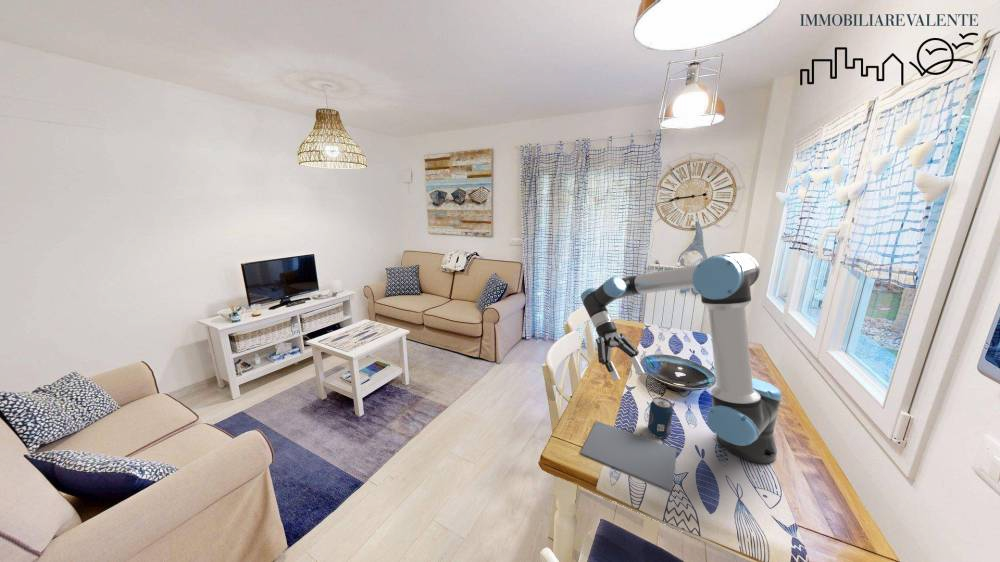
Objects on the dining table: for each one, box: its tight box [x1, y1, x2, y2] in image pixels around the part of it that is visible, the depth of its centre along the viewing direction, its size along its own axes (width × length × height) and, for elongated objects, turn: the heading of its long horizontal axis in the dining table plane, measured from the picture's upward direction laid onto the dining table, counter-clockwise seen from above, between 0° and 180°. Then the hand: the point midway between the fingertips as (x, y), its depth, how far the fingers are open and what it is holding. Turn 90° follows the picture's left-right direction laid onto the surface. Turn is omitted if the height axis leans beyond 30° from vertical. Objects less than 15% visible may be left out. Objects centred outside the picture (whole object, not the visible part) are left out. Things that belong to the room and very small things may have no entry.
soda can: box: [647, 396, 674, 439], centre depth 108 cm, size 7×7×12 cm
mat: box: [580, 420, 678, 492], centre depth 101 cm, size 26×18×1 cm
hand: (629, 376), depth 115 cm, fingers open, 13 cm apart
